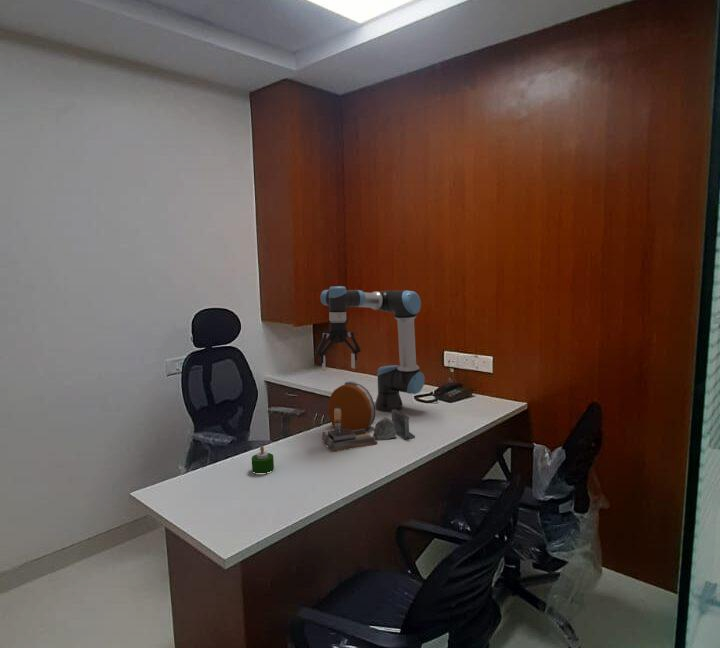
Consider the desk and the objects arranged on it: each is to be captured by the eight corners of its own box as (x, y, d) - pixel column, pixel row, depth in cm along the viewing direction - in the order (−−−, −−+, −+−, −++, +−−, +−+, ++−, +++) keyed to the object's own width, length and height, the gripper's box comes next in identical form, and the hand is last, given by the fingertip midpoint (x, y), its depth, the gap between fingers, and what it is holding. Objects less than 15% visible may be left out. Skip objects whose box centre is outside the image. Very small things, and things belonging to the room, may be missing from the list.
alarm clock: (377, 426, 236) (376, 381, 233) (369, 433, 227) (368, 385, 225) (337, 421, 245) (336, 377, 243) (328, 427, 237) (326, 382, 234)
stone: (385, 418, 215) (388, 411, 225) (368, 432, 218) (372, 424, 228) (399, 435, 215) (401, 427, 225) (382, 448, 218) (385, 439, 227)
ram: (328, 439, 216) (327, 407, 215) (349, 435, 220) (348, 404, 218) (333, 445, 209) (332, 412, 207) (355, 441, 212) (354, 409, 210)
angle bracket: (392, 430, 231) (391, 409, 229) (401, 428, 232) (401, 408, 231) (405, 439, 218) (404, 418, 216) (415, 437, 219) (414, 416, 218)
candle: (263, 476, 183) (262, 451, 182) (247, 472, 187) (246, 447, 186) (278, 468, 190) (277, 444, 189) (262, 464, 194) (261, 440, 193)
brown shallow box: (322, 440, 219) (321, 431, 218) (365, 434, 226) (365, 425, 225) (331, 451, 206) (331, 442, 205) (377, 444, 213) (377, 434, 212)
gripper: (312, 323, 205) (313, 373, 207) (367, 321, 214) (367, 368, 216) (308, 322, 212) (309, 369, 214) (361, 319, 221) (362, 365, 223)
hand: (338, 369), depth 215 cm, fingers open, 13 cm apart
